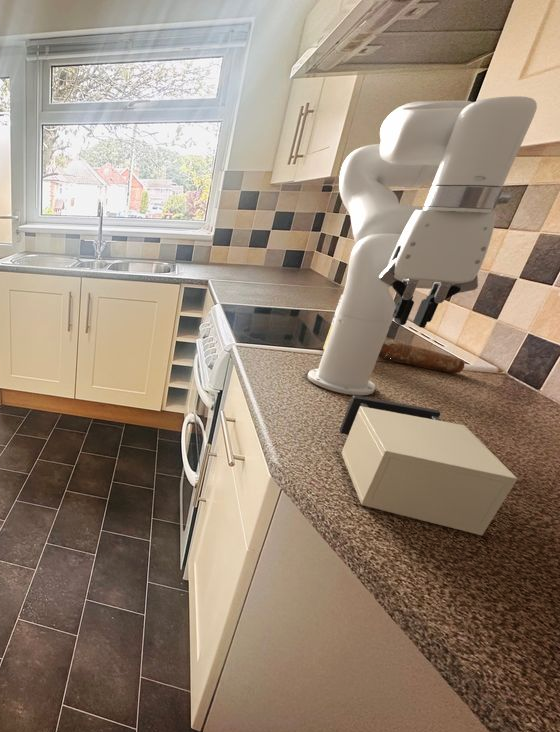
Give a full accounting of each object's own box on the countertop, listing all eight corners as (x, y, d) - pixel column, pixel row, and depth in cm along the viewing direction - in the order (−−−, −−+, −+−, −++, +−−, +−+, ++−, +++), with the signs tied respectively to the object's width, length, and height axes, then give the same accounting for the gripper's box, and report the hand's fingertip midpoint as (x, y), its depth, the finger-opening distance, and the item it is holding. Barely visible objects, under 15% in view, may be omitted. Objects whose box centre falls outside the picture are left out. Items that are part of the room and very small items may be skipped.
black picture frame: (334, 419, 75) (347, 385, 72) (411, 434, 71) (428, 399, 68) (355, 469, 61) (372, 429, 58) (452, 491, 57) (475, 449, 54)
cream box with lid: (341, 453, 67) (359, 405, 63) (438, 474, 62) (464, 425, 59) (361, 505, 55) (385, 450, 52) (482, 535, 51) (518, 478, 47)
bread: (367, 352, 114) (375, 332, 112) (459, 372, 103) (470, 351, 100) (364, 357, 110) (371, 337, 108) (460, 379, 98) (471, 357, 96)
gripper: (517, 203, 61) (459, 325, 68) (386, 198, 66) (347, 312, 74) (548, 203, 54) (482, 338, 62) (401, 198, 60) (356, 322, 67)
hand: (409, 323), depth 68 cm, fingers closed
